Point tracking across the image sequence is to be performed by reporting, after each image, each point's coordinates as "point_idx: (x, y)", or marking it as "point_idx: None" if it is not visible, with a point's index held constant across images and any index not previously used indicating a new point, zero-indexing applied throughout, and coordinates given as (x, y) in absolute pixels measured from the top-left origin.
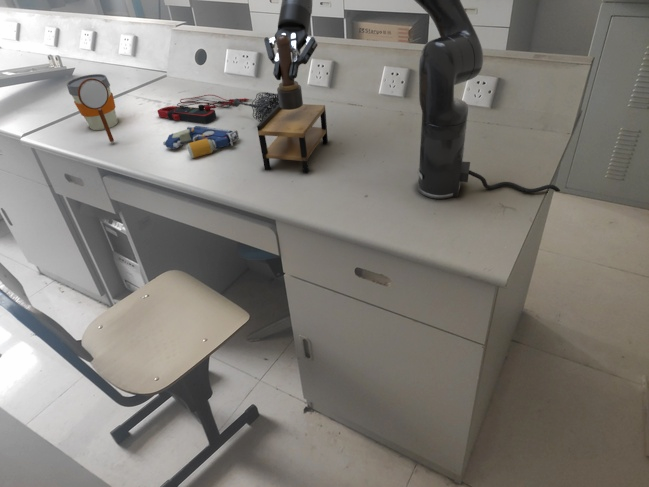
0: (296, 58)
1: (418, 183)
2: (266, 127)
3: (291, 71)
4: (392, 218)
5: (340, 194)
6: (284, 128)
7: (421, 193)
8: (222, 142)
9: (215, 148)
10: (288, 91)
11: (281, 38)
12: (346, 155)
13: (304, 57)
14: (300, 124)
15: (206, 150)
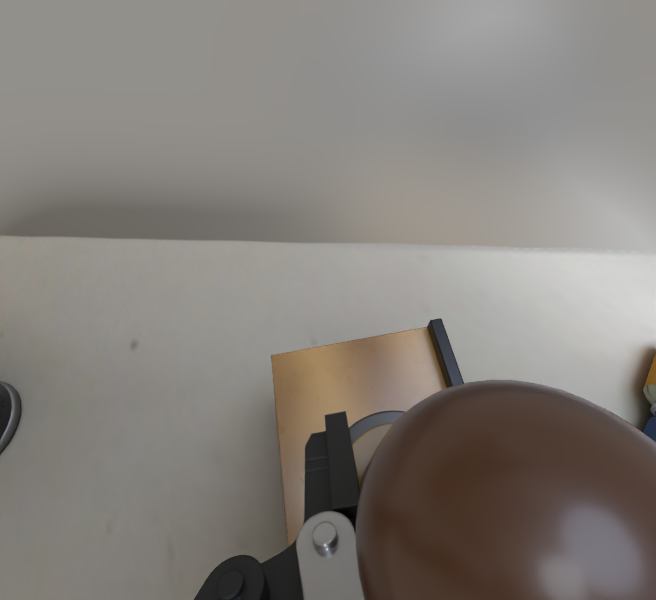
0: (302, 551)
1: (10, 415)
2: (425, 356)
3: (330, 435)
4: (78, 296)
5: (188, 332)
6: (354, 369)
7: (14, 389)
8: (652, 430)
9: (651, 410)
10: (365, 427)
11: (490, 415)
12: (227, 535)
13: (200, 593)
14: (313, 420)
15: (650, 373)
